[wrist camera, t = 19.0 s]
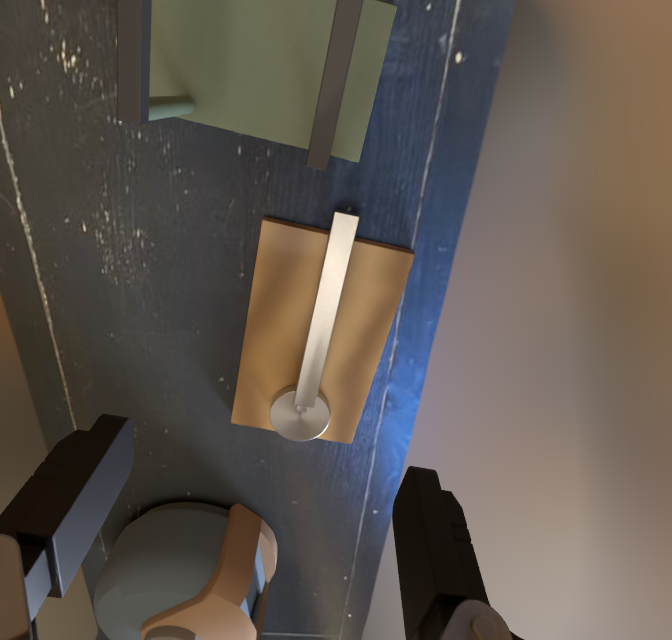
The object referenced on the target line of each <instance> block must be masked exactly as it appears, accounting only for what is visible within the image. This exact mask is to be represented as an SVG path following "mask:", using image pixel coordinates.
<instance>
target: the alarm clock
mask: <svg viewBox="0 0 672 640" xmlns="http://www.w3.org/2000/svg"><path fill="white" fill-rule="evenodd" d="M276 561H277V543H276V540H275V536H274V533H273V531H272V530H271V528H270V527H269V526H268V525H267V524H266V522H265V521H264V520H263V519H262V518H261V517H259V516H258V515H256V514H255V513H253V512H252V511H250V510H249V509H247V508H246V507H244V506H243V505H241V504H239V503H236V504H234V505H233V506H232V507H231V508H230V510H226V509H224V508H221V507H217V506H213V505H209V504H205V503H194V502H179V503H170V504H165V505H162V506H159V507H156V508H153V509H151V510H149V511H148V512H146V513H145V514H143V515H142V516H140V517H139V518H138V519H136V520H135V521H133V522H132V523H130V524H129V525H127V526H126V527H125V529H124V530H123V531H122V533H121V534H120V535H119V537H118V539H117V541H116V543H115V545H114V547H113V549H112V551H111V553H110V555H109V557H108V559H107V561H106V563H105V566H104V568H103V570H102V572H101V574H100V577H99V580H98V584H97V587H96V591H95V596H94V610H95V616H96V619H97V623H98V625H99V627H100V628H101V629H102V631H103V632H104V633H105V635H106V636H107V637H108V638H109V639H110V640H259V639H260V635H261V632H262V628H263V620H264V613H265V606H266V598H267V591H268V583H269V581H270V579H271V578H272V576H273V574H274V572H275V569H276Z"/></svg>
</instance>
